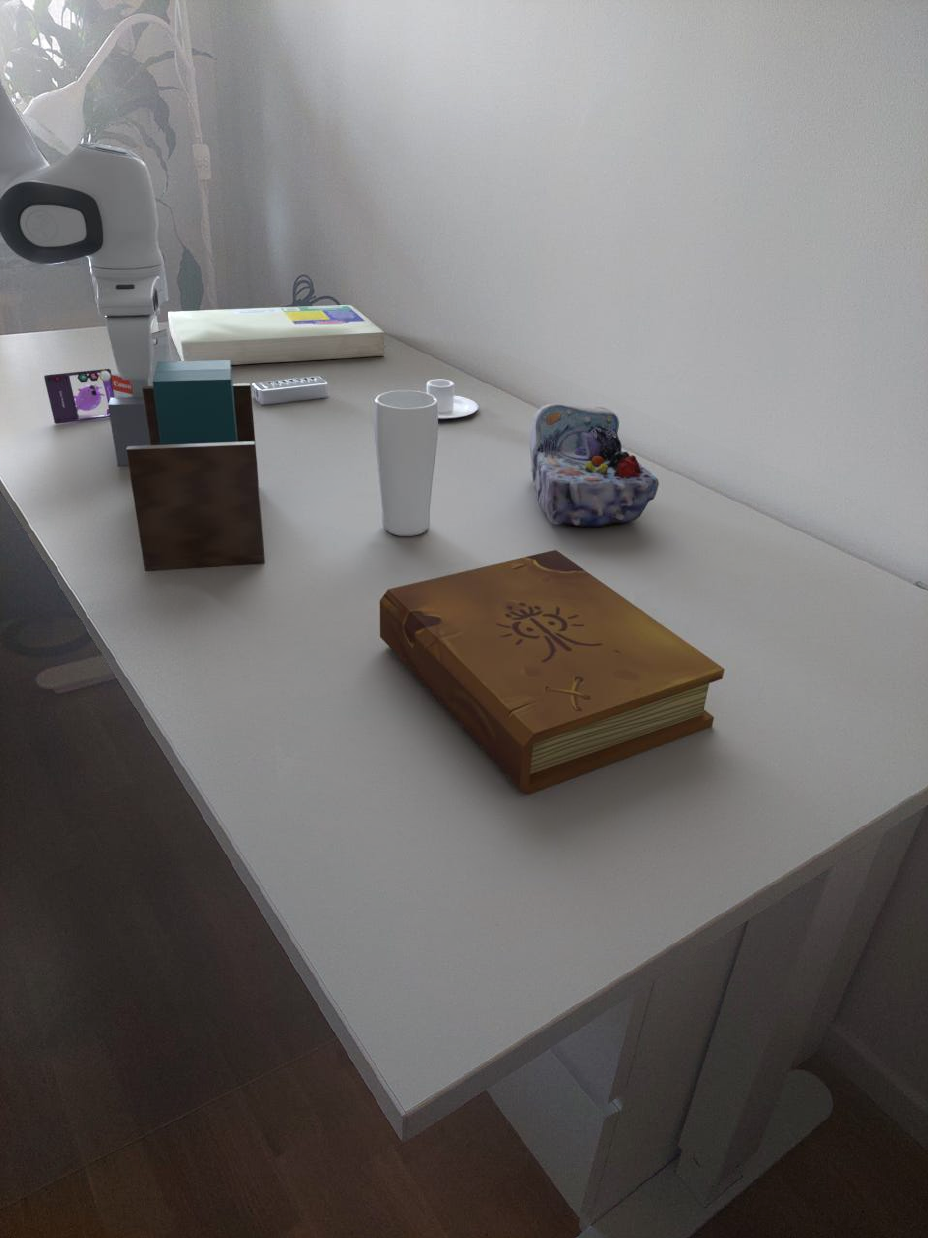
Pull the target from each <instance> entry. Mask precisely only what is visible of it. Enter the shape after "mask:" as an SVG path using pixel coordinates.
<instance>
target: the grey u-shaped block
mask: <svg viewBox="0 0 928 1238" xmlns="http://www.w3.org/2000/svg"><path fill="white" fill-rule="evenodd" d="M107 409H109V415H110V417H109V420H110V425H111V431H112V438H113V444H114V450H115V456H116V462H117V463H116V464H117V466H118V467H122V466H129V464H128V458H127V451H126V449H127V446H144V445H150V439H149V432H148V425H147V418H146V411H145V404H144V397H120V398H110V401H109V404H108V403H107Z"/></svg>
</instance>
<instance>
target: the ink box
mask: <svg viewBox="0 0 928 1238" xmlns="http://www.w3.org/2000/svg"><path fill="white" fill-rule="evenodd" d="M152 339H156V344H154V345H153V346H154V352H155V360H154V364H153V368H152V372H151V377H150V378H149V379H148V382H149V386H153V378H154V374H155V370H156V366H157V362H162V361H172V358H171V352H170V351H171V349H170V343H169V341H170V340H169V335H168V329H166V328H165V329H162V330H159V331H157V332H154V333H152ZM111 376H112V383H113V390H114V397H115V398H120V397H135V393H134V391H133V388H132V385H131V382H130V380H123V379H122V378H121V377H120V375H119V372H116V373H113V374H112V375H111Z"/></svg>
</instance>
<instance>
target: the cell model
mask: <svg viewBox="0 0 928 1238" xmlns="http://www.w3.org/2000/svg"><path fill="white" fill-rule="evenodd" d="M619 428H620V420H619V417H618V415H617V414H616V413H615V412H613V411H611V409H608V408H606V407H603V406H581V405H580V406H579V405H571V404H563V403H562V404H560V403H551V404H546V405H543V406H541V408H540V409H538V410H537V412H536V413H535V415H534V417H533V421H532V426H531V431H530V439H529V453H530V460H531V461H530V466H531V467H530V472H531V476H532V481H533V483H534V485H533V486H534V490H535V491H536V494H537V496H536V497H537V498H536V499H537V501H538V506H539V507H540V509H542V511H544V513H545V514H546V517H547V519H548V521H549V522H550V523H551V524H552V525H569V526H574V527H584V528H585V527H586V528H587V527H589V528H601V527H604V526H607V525H611V524H626V523H631V522H634V521H636V520H638V518H640V516H641V515H642V513H643V512H644V510H645V508H647V505H648V504H649V502H650V501H653V500H654V499H655V498H656V495H657V491H658V489H659V486H660V482H659V479H658V477H657V476H655V474H653V472H652V471H651V470H649V469H648V468H646V467H644V466H643V465H642V464H640V462H639V461H638V460H637V457H636V455H630V453H629V452H628V451H622V447H623V446H622V442H621V440H620V438H619V433H618V432H619Z"/></svg>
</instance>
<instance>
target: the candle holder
mask: <svg viewBox="0 0 928 1238" xmlns="http://www.w3.org/2000/svg"><path fill="white" fill-rule="evenodd" d="M426 393H428V394H431V395H433V396H434V397H436V399H437V401H438V420H447V419H457V418H462V417H467V416H469V415H472V414H474V413H476V412H477V411H478V409H479V405H478V403H477V402H475V401H474V400H472V399H470V398H467V397H464V396H460V395H455V383H454V382H453V381H451V380H448V379H440V378H439V379H437V378H436V379H431V380H428V381H427V382H426Z"/></svg>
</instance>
